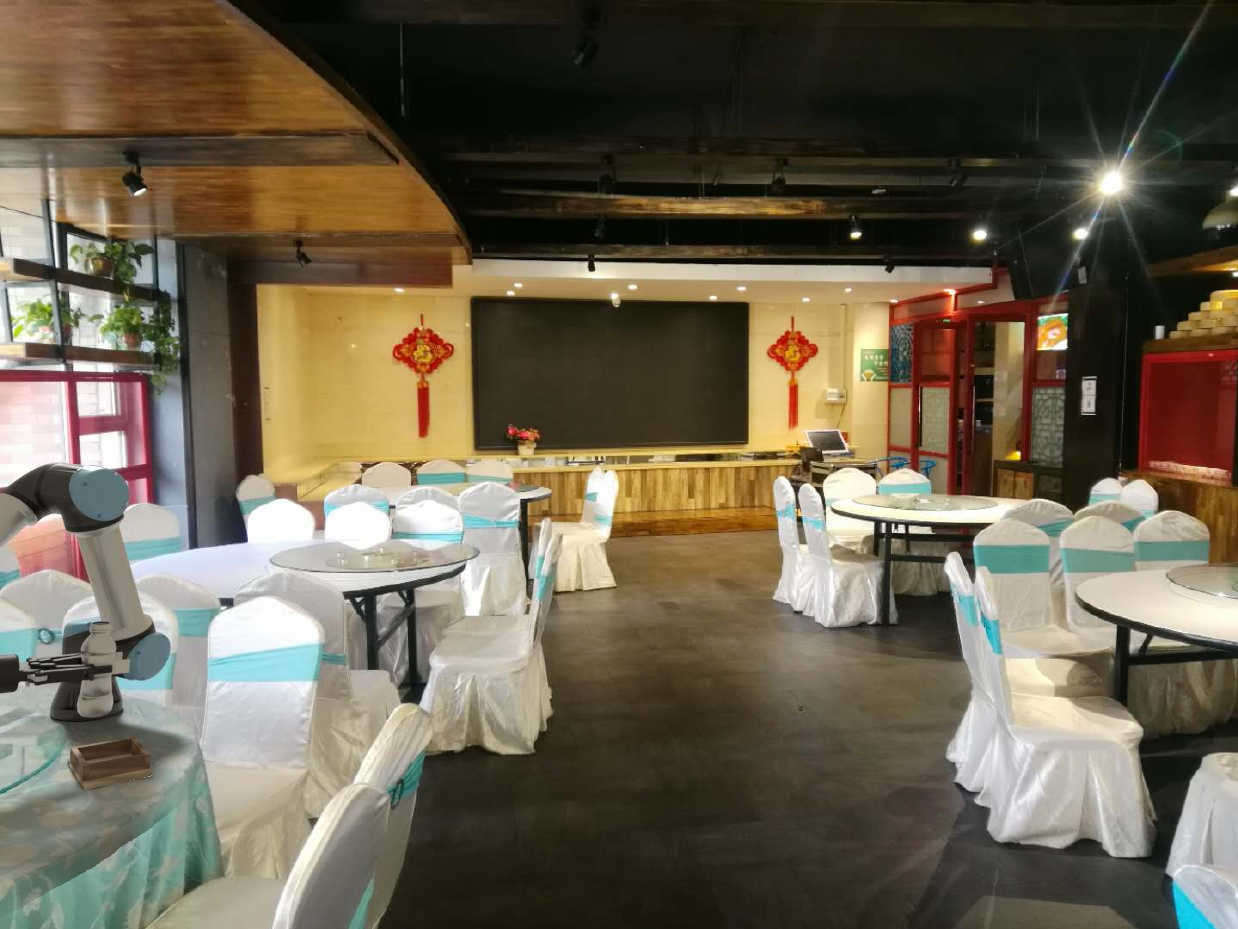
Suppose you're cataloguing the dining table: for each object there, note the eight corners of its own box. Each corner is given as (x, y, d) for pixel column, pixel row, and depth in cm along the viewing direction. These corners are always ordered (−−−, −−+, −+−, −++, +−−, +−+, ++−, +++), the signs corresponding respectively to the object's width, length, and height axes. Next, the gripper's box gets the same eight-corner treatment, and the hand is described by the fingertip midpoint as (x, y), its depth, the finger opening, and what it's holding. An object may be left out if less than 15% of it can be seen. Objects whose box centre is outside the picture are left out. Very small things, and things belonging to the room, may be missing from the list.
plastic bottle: (94, 723, 174) (101, 627, 174) (68, 718, 176) (74, 623, 176) (119, 714, 181) (126, 622, 180) (93, 709, 182) (100, 618, 182)
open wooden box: (67, 763, 176) (68, 744, 176) (131, 752, 184) (132, 734, 184) (84, 790, 164) (85, 770, 164) (152, 776, 173) (153, 757, 172)
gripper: (-13, 681, 173) (114, 668, 189) (-3, 707, 159) (134, 690, 175) (-11, 645, 173) (116, 635, 189) (0, 668, 159) (137, 655, 174)
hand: (125, 662), depth 182 cm, fingers closed on plastic bottle, 6 cm apart
